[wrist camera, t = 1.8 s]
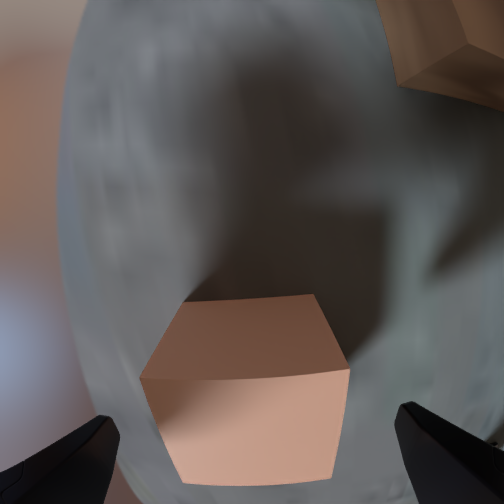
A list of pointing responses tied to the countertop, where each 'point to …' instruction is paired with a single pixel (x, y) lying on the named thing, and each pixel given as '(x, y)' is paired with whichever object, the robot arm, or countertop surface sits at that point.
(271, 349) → the terracotta cube
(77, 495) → the robot arm
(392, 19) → the walnut block
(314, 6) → the countertop surface
